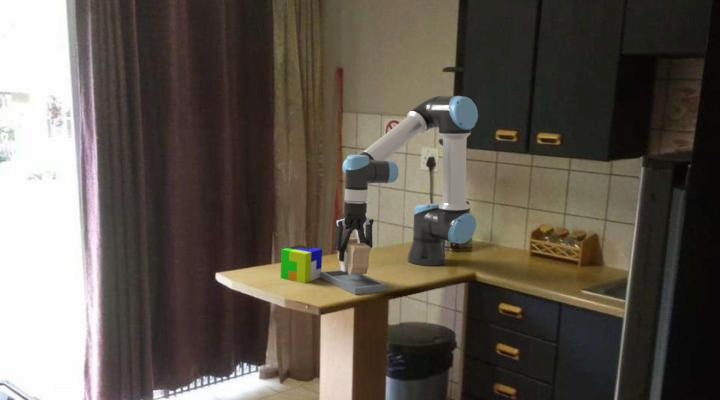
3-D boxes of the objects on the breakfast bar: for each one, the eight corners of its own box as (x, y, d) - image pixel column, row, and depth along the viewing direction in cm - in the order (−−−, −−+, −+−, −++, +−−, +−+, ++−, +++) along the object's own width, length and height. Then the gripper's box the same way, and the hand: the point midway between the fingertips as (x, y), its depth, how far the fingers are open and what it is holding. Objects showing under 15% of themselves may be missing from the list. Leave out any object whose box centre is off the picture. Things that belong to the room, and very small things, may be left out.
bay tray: (320, 277, 220) (320, 271, 220) (349, 274, 226) (349, 268, 226) (354, 294, 201) (355, 288, 200) (386, 290, 207) (386, 284, 207)
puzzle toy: (321, 277, 221) (322, 249, 219) (304, 283, 212) (305, 253, 211) (297, 272, 226) (298, 245, 224) (280, 278, 217) (281, 249, 216)
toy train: (351, 264, 222) (353, 236, 220) (369, 276, 206) (370, 246, 205) (336, 265, 220) (337, 236, 218) (353, 277, 204) (354, 246, 203)
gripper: (373, 199, 218) (370, 265, 221) (324, 201, 208) (321, 269, 211) (386, 202, 212) (382, 269, 215) (336, 204, 201) (332, 275, 204)
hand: (352, 269), depth 213 cm, fingers closed on toy train, 6 cm apart
